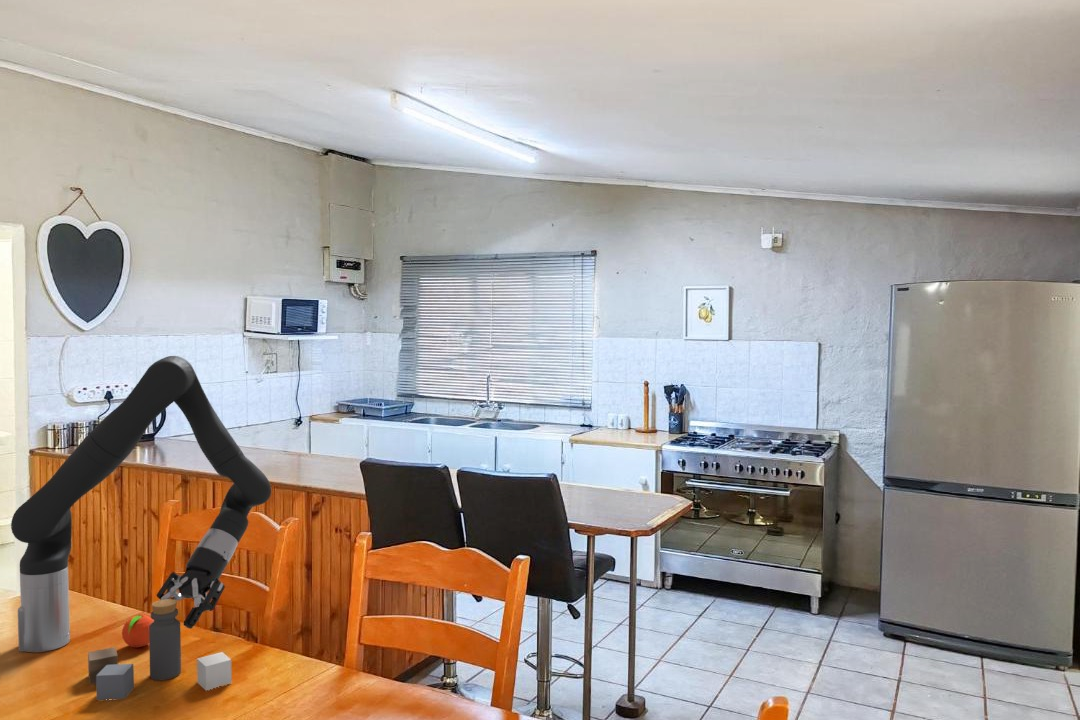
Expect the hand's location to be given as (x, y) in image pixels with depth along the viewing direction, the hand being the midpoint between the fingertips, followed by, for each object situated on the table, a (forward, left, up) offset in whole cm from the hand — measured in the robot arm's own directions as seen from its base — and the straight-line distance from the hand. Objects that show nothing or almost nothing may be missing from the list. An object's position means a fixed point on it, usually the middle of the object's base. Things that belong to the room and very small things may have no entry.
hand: (171, 623), depth 170 cm
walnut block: (-13, +1, -10) cm, 17 cm away
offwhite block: (+9, -8, -10) cm, 16 cm away
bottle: (-1, -1, -10) cm, 10 cm away
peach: (-9, +16, -10) cm, 21 cm away
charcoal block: (-9, -8, -10) cm, 16 cm away
